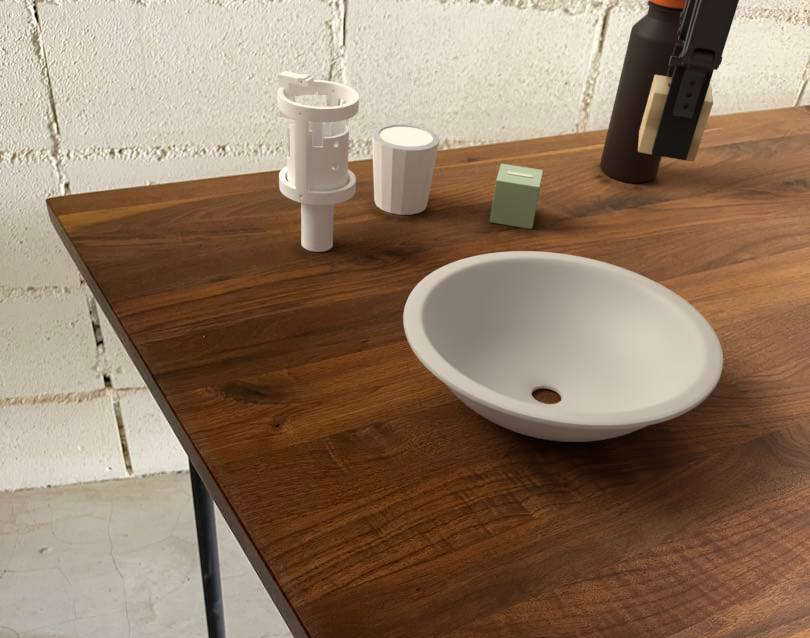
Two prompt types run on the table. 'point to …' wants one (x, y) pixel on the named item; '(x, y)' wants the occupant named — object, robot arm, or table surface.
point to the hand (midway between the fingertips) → (668, 143)
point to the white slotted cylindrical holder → (316, 153)
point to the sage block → (516, 196)
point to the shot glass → (403, 167)
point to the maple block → (655, 113)
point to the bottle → (640, 91)
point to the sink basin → (562, 344)
